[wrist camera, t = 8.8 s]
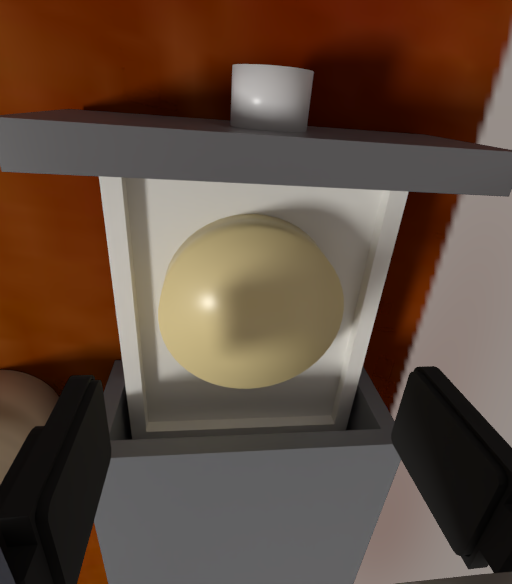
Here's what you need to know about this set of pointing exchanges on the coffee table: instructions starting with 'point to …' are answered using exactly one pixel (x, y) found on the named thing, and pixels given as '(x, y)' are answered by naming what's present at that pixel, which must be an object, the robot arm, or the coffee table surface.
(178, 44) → the coffee table surface
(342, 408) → the drawer
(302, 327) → the cream domed disc
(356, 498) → the housing
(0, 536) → the robot arm
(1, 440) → the beige rounded lump
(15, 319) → the coffee table surface
